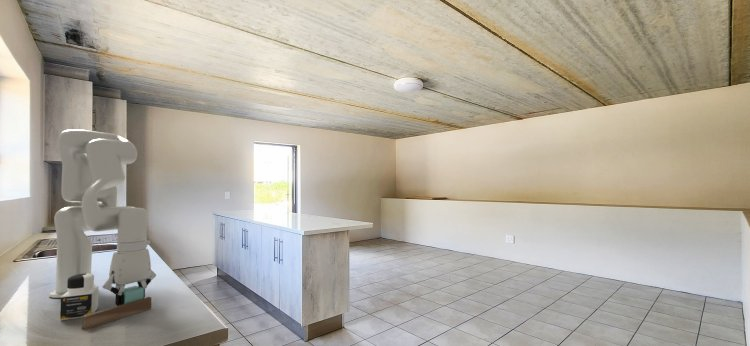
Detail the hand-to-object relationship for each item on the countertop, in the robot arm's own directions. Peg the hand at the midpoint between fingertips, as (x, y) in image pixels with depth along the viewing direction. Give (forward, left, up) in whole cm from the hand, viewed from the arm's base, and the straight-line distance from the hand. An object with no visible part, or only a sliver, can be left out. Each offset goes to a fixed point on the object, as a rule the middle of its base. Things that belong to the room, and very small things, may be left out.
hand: (130, 303), depth 102 cm
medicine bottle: (-10, -9, -2) cm, 13 cm away
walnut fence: (+4, -5, -2) cm, 7 cm away
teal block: (0, 0, 0) cm, 0 cm away
